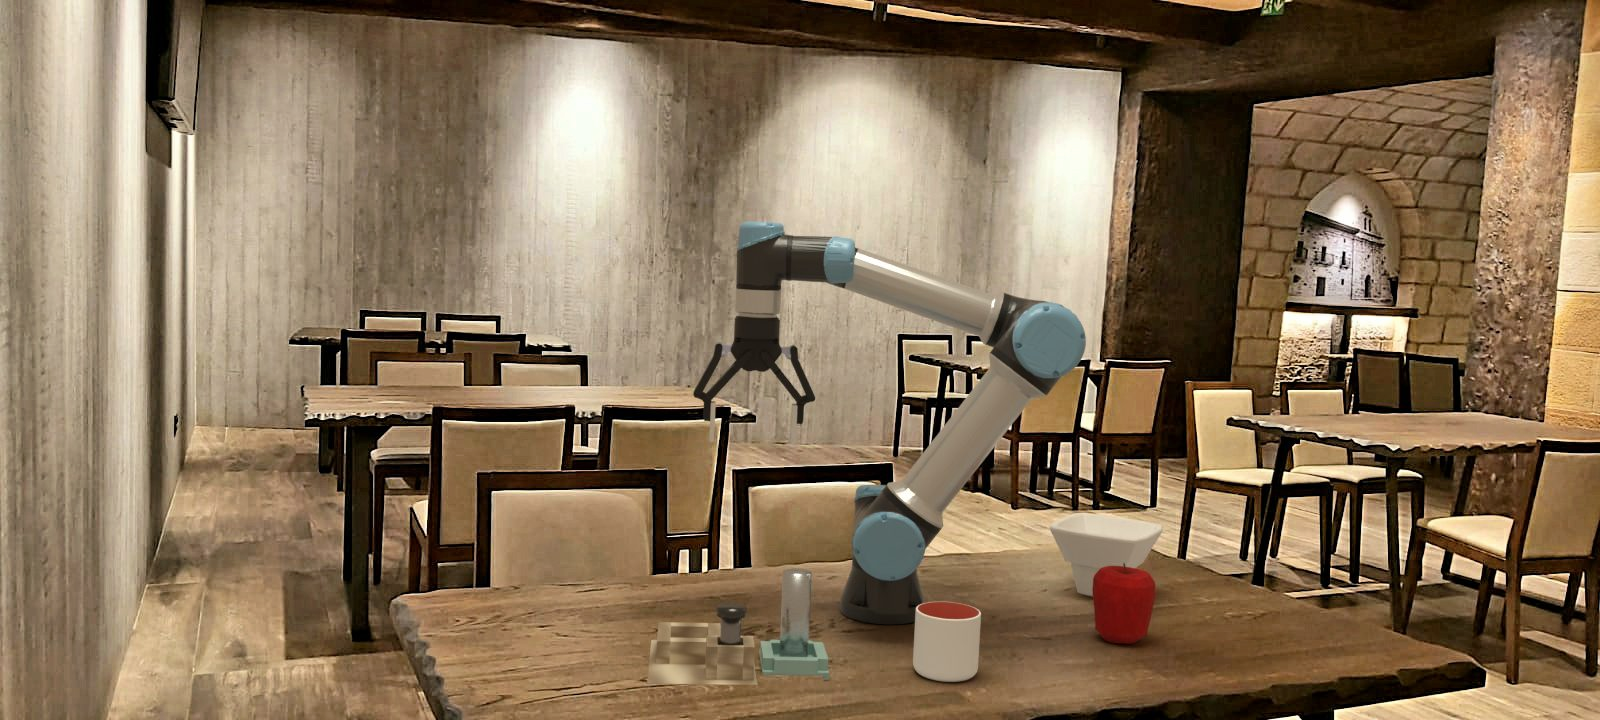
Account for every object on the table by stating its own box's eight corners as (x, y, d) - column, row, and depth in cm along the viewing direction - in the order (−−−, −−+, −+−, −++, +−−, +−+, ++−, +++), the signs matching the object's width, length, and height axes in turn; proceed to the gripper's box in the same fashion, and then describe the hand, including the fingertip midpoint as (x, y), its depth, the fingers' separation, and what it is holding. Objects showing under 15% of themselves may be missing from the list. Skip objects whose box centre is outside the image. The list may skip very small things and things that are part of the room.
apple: (1102, 650, 213) (1107, 570, 212) (1079, 631, 223) (1084, 555, 222) (1162, 650, 215) (1167, 570, 213) (1137, 631, 225) (1142, 555, 223)
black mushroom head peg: (743, 662, 193) (745, 603, 192) (744, 672, 189) (747, 611, 188) (714, 662, 193) (716, 602, 192) (714, 672, 189) (717, 611, 188)
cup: (907, 662, 202) (910, 600, 202) (969, 663, 203) (973, 601, 202) (918, 684, 193) (922, 619, 192) (983, 685, 193) (987, 620, 193)
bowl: (1165, 594, 250) (1170, 524, 249) (1133, 616, 234) (1139, 541, 233) (1073, 578, 260) (1078, 510, 259) (1037, 597, 244) (1041, 526, 243)
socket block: (750, 646, 207) (752, 611, 207) (757, 690, 187) (758, 651, 186) (651, 644, 206) (652, 609, 205) (646, 688, 185) (648, 649, 185)
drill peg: (806, 657, 199) (810, 568, 198) (808, 666, 195) (812, 576, 193) (778, 656, 199) (781, 568, 197) (780, 665, 194) (783, 575, 193)
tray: (821, 658, 202) (822, 640, 202) (828, 680, 192) (829, 660, 192) (758, 657, 201) (759, 639, 201) (762, 679, 191) (763, 660, 191)
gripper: (829, 316, 217) (824, 440, 219) (682, 311, 215) (677, 436, 217) (834, 319, 210) (828, 447, 212) (681, 313, 208) (677, 443, 209)
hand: (752, 442), depth 214 cm, fingers open, 13 cm apart
